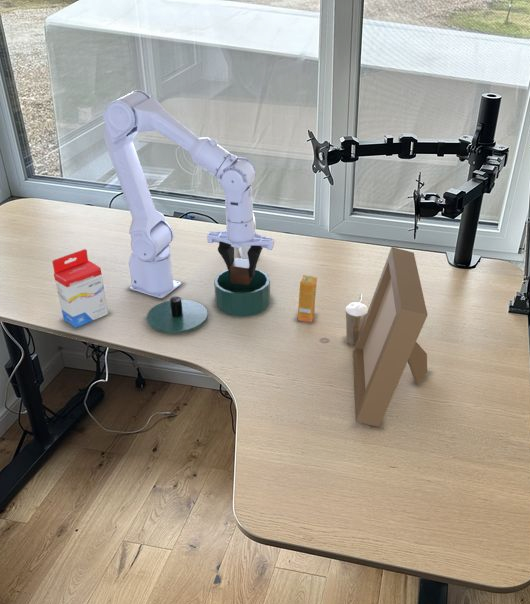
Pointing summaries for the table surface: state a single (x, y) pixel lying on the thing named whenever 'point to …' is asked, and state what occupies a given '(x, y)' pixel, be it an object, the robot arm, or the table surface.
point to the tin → (242, 294)
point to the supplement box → (307, 298)
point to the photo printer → (244, 249)
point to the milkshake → (355, 320)
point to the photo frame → (389, 337)
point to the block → (240, 271)
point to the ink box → (79, 289)
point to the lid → (177, 316)
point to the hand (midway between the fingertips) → (241, 274)
